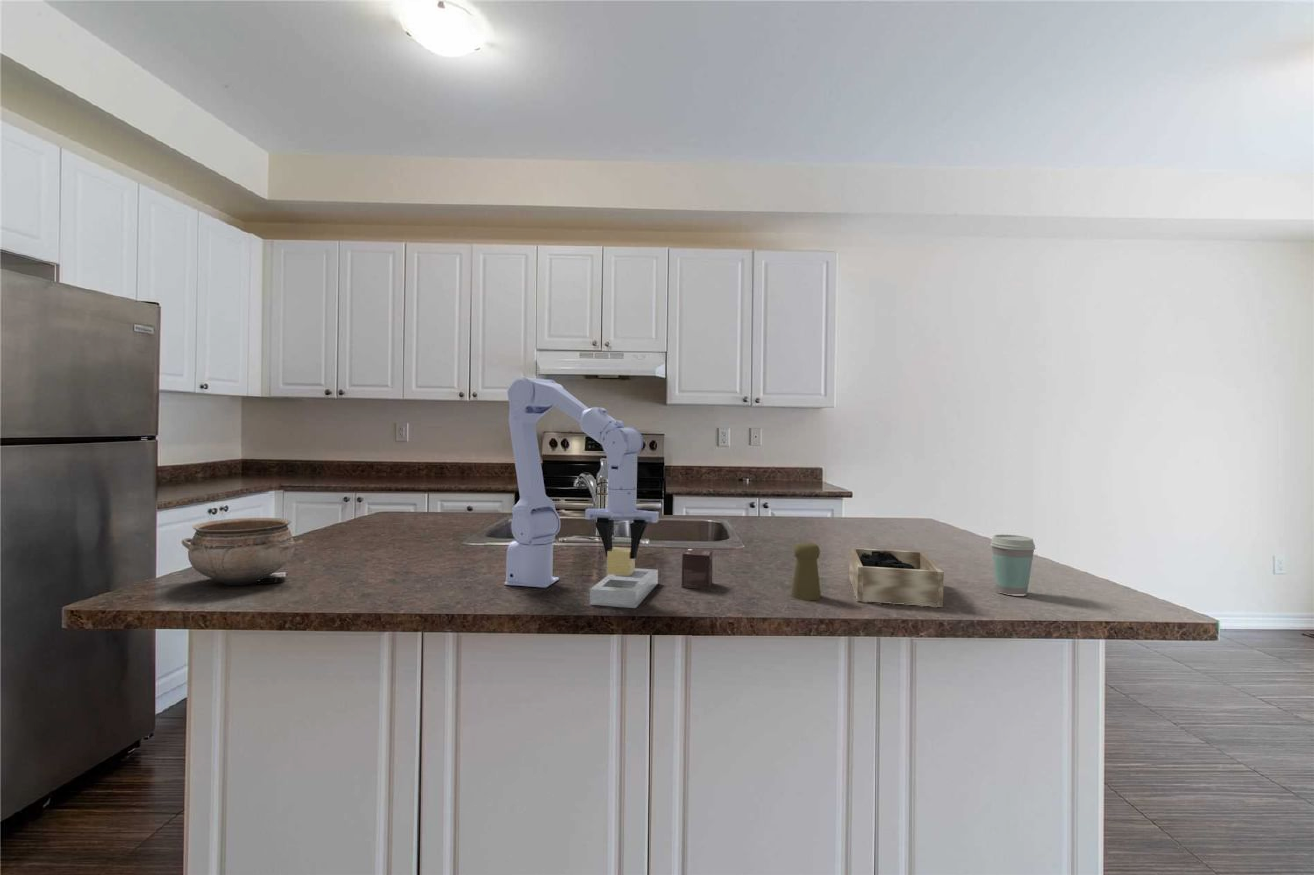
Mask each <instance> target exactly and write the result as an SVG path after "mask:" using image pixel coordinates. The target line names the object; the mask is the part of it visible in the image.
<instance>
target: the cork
mask: <svg viewBox="0 0 1314 875" xmlns="http://www.w3.org/2000/svg"><path fill="white" fill-rule="evenodd" d="M793 554H794V557H795V558H796V561H795V567H794V573H793V580H792V584H791V586H792V587H791V590H790V592H791V593H790V597H792V598H793V599H797V600H802V601H817V600H820V599H822V594H821V586H820V577H819V567H818V559H819V557H820V555H821V550H820V547H819V545H817V544H816V543H813V542H808V541H805V542H798V543H796V544H795V545H794V548H793Z"/></svg>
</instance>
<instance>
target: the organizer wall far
mask: <svg viewBox="0 0 1314 875" xmlns="http://www.w3.org/2000/svg"><path fill="white" fill-rule="evenodd" d="M854 548H855V550H856V552H857V555H858V557H859V558H860V557H861V555H862V554H863V553H866V554H870V555H871V554H872V551H880V552H889V553H891V554H892V555H893V556H895V557H896V558H897V559H898V560H899V561H902V563H909V564H911V565H912V566H914V568H915V569H917V570H919V564H920V552H921V551H915V550H914V551H913V550H896V549H895V550H893V549H878V548H877V549H875V548H860V547H859V548H857V547H854Z"/></svg>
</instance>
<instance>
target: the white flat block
mask: <svg viewBox="0 0 1314 875" xmlns="http://www.w3.org/2000/svg"><path fill="white" fill-rule="evenodd" d="M658 584H659V570H658V569H649V568H636V567H635V571H634V572H633V573H632V574H630V575H629V576H626V575H613V574H607V575H606V576H605V577H604V578H602V579H601V580H600V581H599V582H597V583H596V584H595V585H594V586H593V587H590V589H589V591H590V592H589V605H592V606H602V607H604V606H605V607H617V608H628V609H629V608H630V609H637V607H638V606H639V605H640V604H641V603H642V602H643V601H644V600H645V598H647V597H648V595H649V594H650V592H652V590H654V588H655V587H656V586H657V585H658Z"/></svg>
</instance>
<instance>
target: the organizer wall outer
mask: <svg viewBox="0 0 1314 875" xmlns="http://www.w3.org/2000/svg"><path fill="white" fill-rule="evenodd" d="M919 552H920V564H919V570H934V571H938V599H937V606H938V607H944V581H945V580H944V576H945V575H944V574H945V573H944V571H943V570H942V569H941V568H940V567H939V566H938V565H937V564H936V563H935V562H934V561H933V560H932V559H931V558H930V556H929V555H927V554H926V553H925V552H924V551H919Z"/></svg>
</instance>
